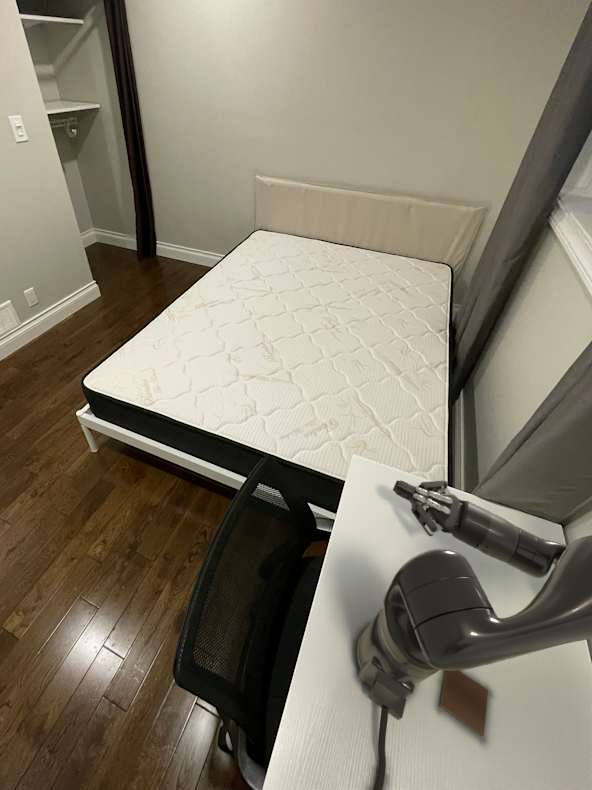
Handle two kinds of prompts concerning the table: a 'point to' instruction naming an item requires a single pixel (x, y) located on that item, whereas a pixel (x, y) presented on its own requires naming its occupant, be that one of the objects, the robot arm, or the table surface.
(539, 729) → the table surface
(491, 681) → the table surface
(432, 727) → the table surface
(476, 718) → the coaster
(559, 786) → the table surface
